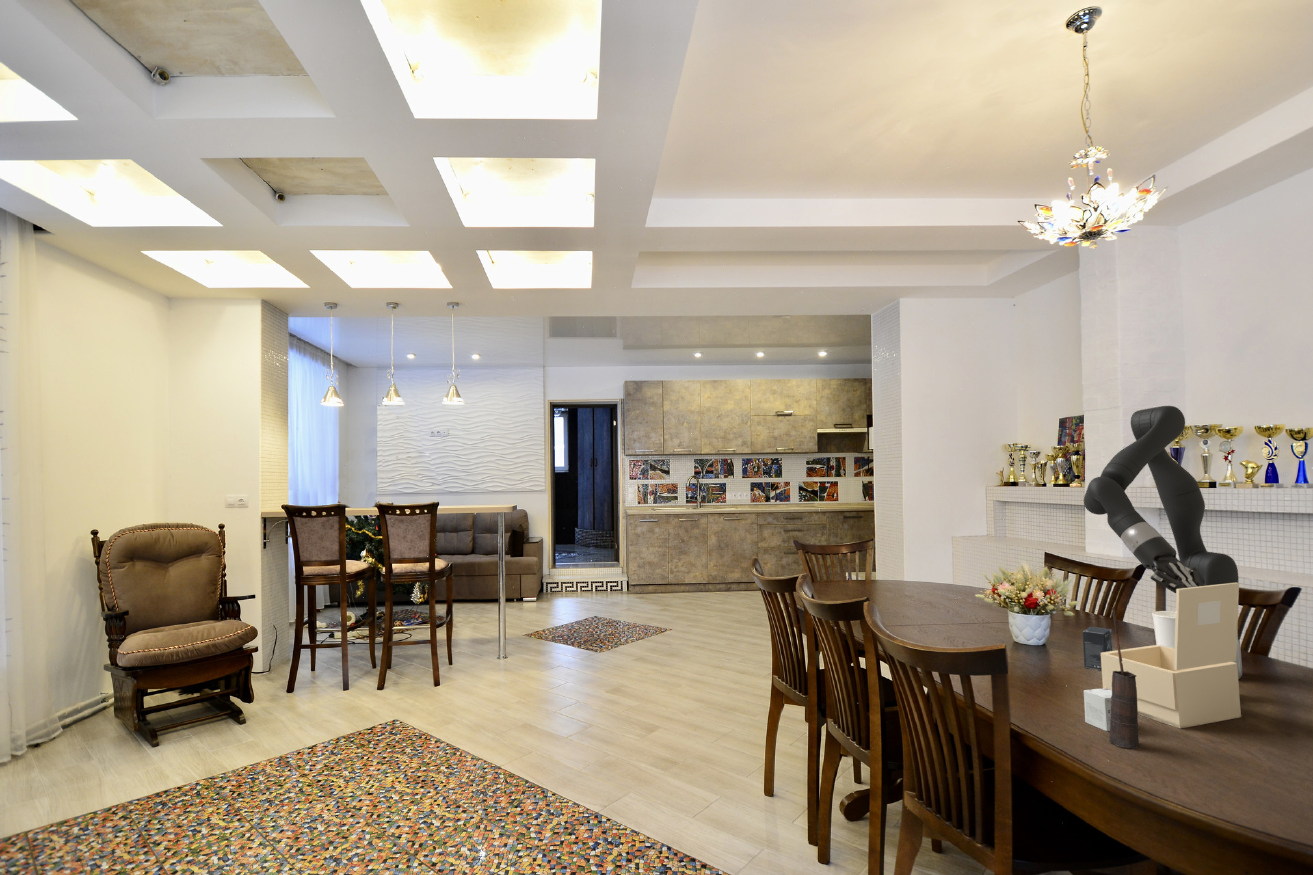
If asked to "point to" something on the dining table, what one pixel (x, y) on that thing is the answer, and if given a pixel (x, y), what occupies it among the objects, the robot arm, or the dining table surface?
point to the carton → (1176, 686)
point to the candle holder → (1164, 628)
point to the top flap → (1206, 625)
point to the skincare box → (1098, 707)
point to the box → (1096, 646)
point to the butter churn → (1123, 704)
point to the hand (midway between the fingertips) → (1203, 605)
